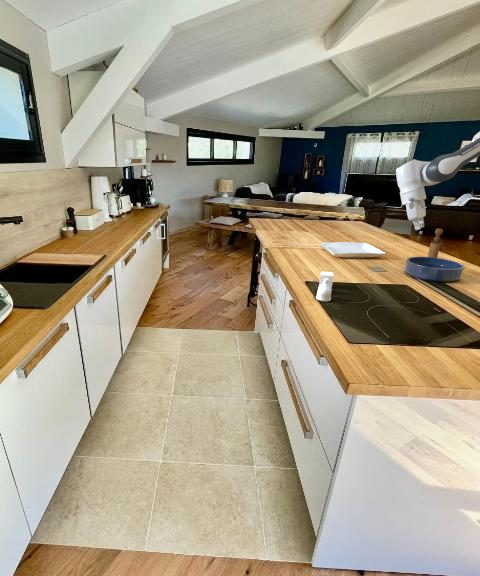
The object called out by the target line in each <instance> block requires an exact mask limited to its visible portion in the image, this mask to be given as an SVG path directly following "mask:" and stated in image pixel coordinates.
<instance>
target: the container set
mask: <svg viewBox="0 0 480 576" xmlns="http://www.w3.org/2000/svg"><path fill="white" fill-rule="evenodd" d="M334 275H335V273H334V272H331V271H320V275H319V281H318V289H317V291H316V296H315V299H316V300H317V301H321V302H331V300H332V290H333V282H334Z"/></svg>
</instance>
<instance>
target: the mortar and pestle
mask: <svg viewBox="0 0 480 576" xmlns="http://www.w3.org/2000/svg"><path fill="white" fill-rule="evenodd" d="M434 233H435V237H433V241H431V242H430V244H429V249H428V253H427V255H426V257H434V258H438V256H439V252H440V248H441V246H442V243H441V242H440V239H441V235H442V234H443V233H444V230H443V228H436V229H435V231H434Z"/></svg>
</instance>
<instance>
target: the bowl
mask: <svg viewBox="0 0 480 576" xmlns="http://www.w3.org/2000/svg"><path fill="white" fill-rule="evenodd" d="M464 269H465V265H463V264H462V263H460V262H458V261H455V260H451V259H446V258H440V257H437V258H434V257H427V256H411V257H408V258H406V261H405V265H404V269H403V270H404V272H405V273H406V274H408V275H409V276H411V277H414V278H416V279H419V280H424V281H429V282H439V283H450V282H455V281H459V280H460V279H462V276H463V273H464Z"/></svg>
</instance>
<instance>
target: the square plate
mask: <svg viewBox="0 0 480 576" xmlns="http://www.w3.org/2000/svg"><path fill="white" fill-rule="evenodd" d="M319 244H320V246H321V247H322V248H323V249H324V250H326V251H327V252H329V253H330V254H331V255H332V256H334V257H335V258H336V257H337V258H343V259H346V258H347V259H348V258H349V259H350V258H352V259H353V258H354V259H355V258H356V259H358V258H360V259H361V258H362V259H363V258H364V259H368V258H371V259H372V258H380V257H383V256H384V255H386V254H387V253H386V252H385V251H383V250H381V249H379V248H378V247H376V246H373V245H371V244H369V243H367V242H355V241H354V242H353V241H332V242H319Z"/></svg>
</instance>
